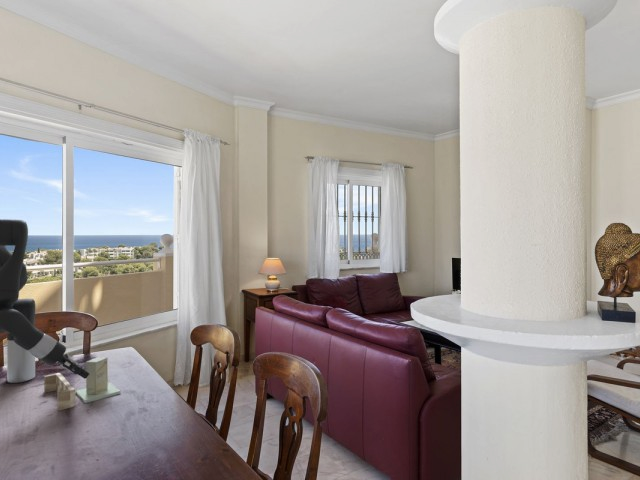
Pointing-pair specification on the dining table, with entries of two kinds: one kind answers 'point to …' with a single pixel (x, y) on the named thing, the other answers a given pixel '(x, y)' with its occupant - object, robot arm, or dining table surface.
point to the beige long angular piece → (60, 390)
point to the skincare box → (97, 375)
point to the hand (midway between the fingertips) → (84, 373)
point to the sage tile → (92, 397)
